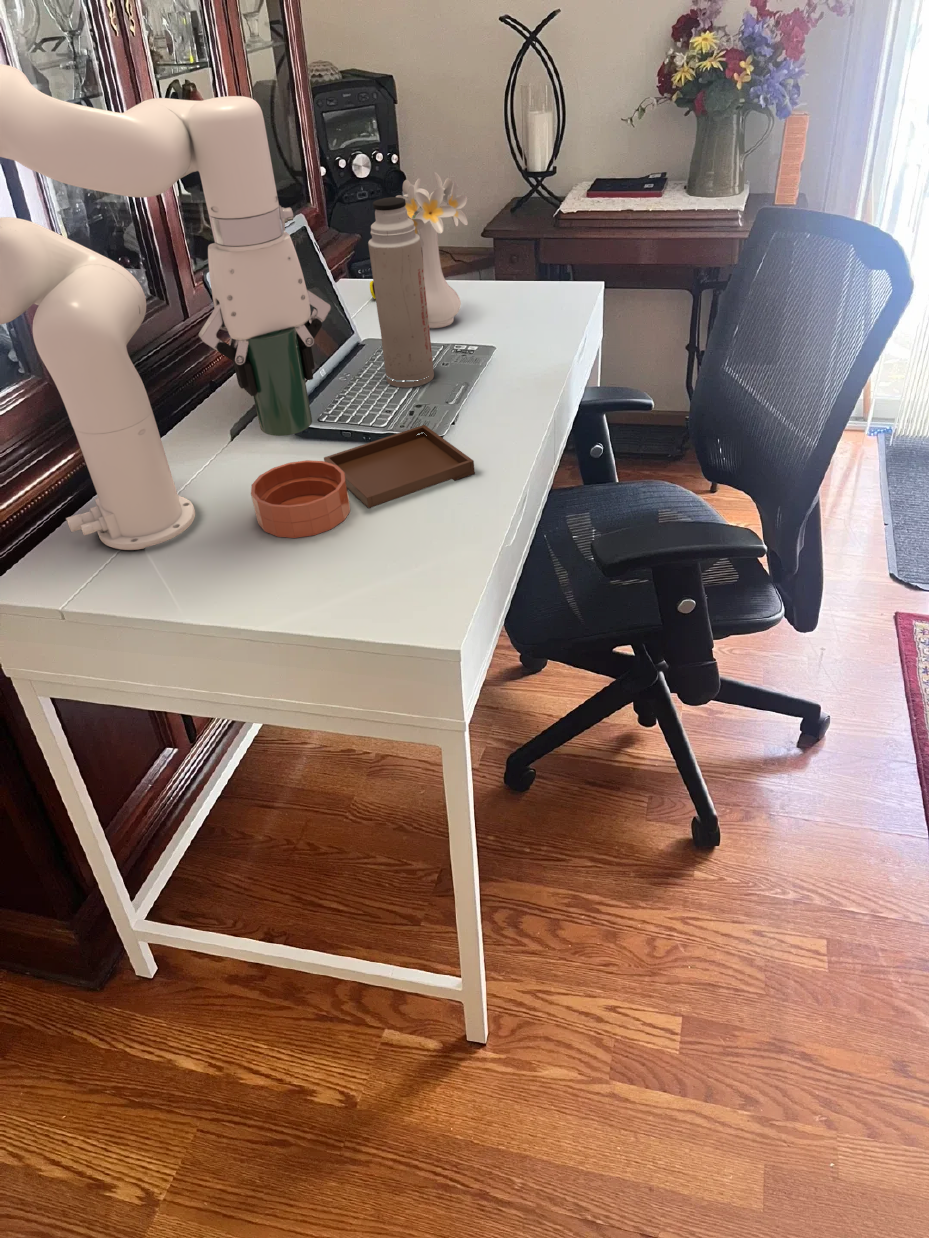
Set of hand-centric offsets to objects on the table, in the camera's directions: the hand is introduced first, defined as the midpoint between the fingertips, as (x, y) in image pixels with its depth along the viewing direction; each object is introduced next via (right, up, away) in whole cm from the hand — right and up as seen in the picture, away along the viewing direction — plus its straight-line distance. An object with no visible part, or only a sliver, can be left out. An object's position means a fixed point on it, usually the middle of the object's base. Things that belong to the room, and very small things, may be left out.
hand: (278, 383), depth 112 cm
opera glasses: (+7, +38, +80) cm, 89 cm away
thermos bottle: (+13, +12, +45) cm, 48 cm away
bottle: (0, -4, +3) cm, 5 cm away
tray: (+13, -8, +19) cm, 24 cm away
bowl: (+1, -15, +11) cm, 18 cm away
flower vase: (+17, +27, +64) cm, 71 cm away
